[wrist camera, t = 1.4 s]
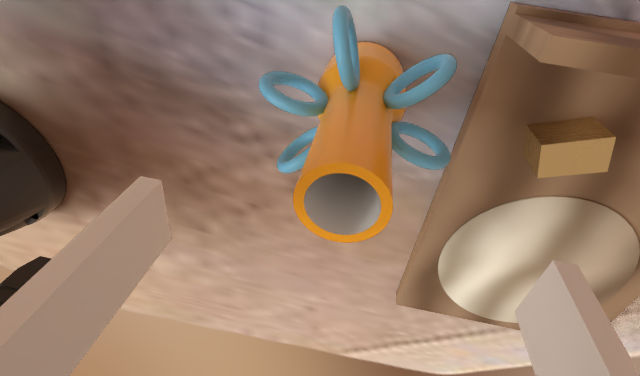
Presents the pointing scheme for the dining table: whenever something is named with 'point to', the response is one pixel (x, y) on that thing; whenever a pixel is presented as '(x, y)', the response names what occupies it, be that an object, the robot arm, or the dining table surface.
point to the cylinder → (355, 133)
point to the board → (522, 184)
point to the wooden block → (568, 147)
